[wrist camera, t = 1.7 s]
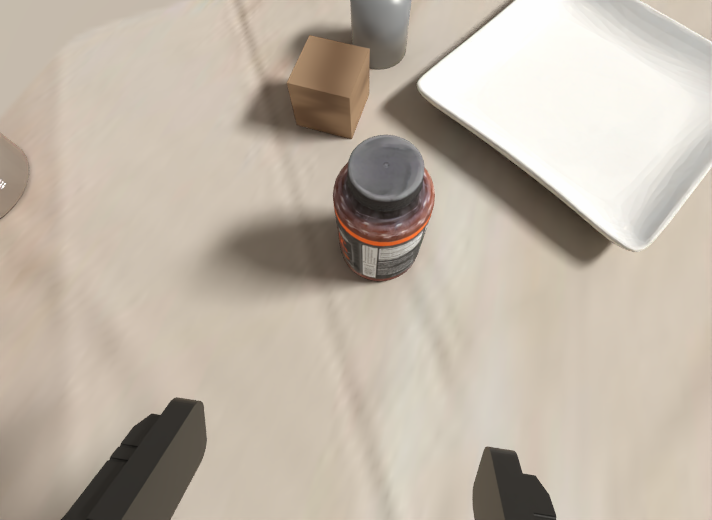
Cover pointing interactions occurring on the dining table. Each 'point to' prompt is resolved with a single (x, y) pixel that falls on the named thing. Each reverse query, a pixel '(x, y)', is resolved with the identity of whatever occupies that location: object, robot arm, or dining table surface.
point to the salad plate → (589, 106)
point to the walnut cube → (330, 86)
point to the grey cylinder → (381, 29)
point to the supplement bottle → (382, 207)
